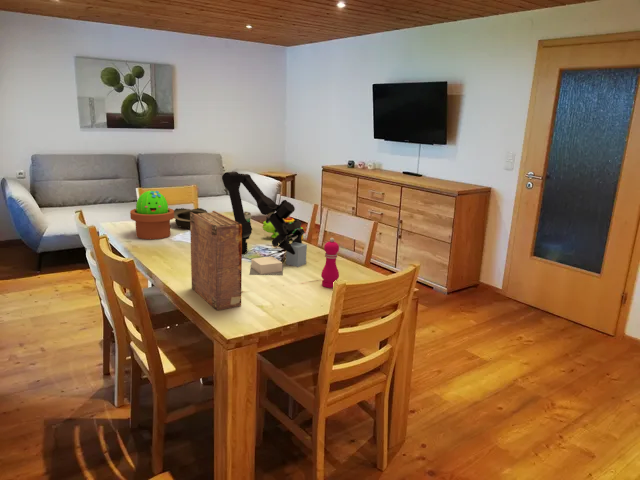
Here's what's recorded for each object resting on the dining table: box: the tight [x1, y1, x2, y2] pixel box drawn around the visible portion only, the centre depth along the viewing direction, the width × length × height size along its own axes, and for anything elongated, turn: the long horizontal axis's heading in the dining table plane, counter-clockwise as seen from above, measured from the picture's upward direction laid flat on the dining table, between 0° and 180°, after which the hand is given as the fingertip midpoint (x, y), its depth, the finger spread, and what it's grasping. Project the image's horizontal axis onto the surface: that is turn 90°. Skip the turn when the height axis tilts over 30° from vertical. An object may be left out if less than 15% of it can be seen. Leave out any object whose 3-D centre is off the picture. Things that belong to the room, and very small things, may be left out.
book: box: [189, 210, 243, 311], centre depth 176 cm, size 25×9×30 cm, turn 34°
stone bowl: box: [173, 207, 209, 230], centre depth 284 cm, size 25×25×9 cm
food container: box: [243, 210, 253, 222], centre depth 279 cm, size 12×6×10 cm, turn 168°
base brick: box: [250, 256, 283, 274], centre depth 209 cm, size 10×10×4 cm
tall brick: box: [285, 242, 308, 268], centre depth 219 cm, size 7×7×10 cm
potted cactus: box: [129, 190, 175, 240], centre depth 257 cm, size 22×22×25 cm
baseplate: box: [248, 264, 284, 276], centre depth 210 cm, size 14×15×1 cm
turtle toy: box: [262, 216, 304, 240], centre depth 266 cm, size 17×23×12 cm
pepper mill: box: [320, 237, 340, 289], centre depth 195 cm, size 7×7×20 cm
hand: (298, 252), depth 218 cm, fingers closed on tall brick, 7 cm apart
